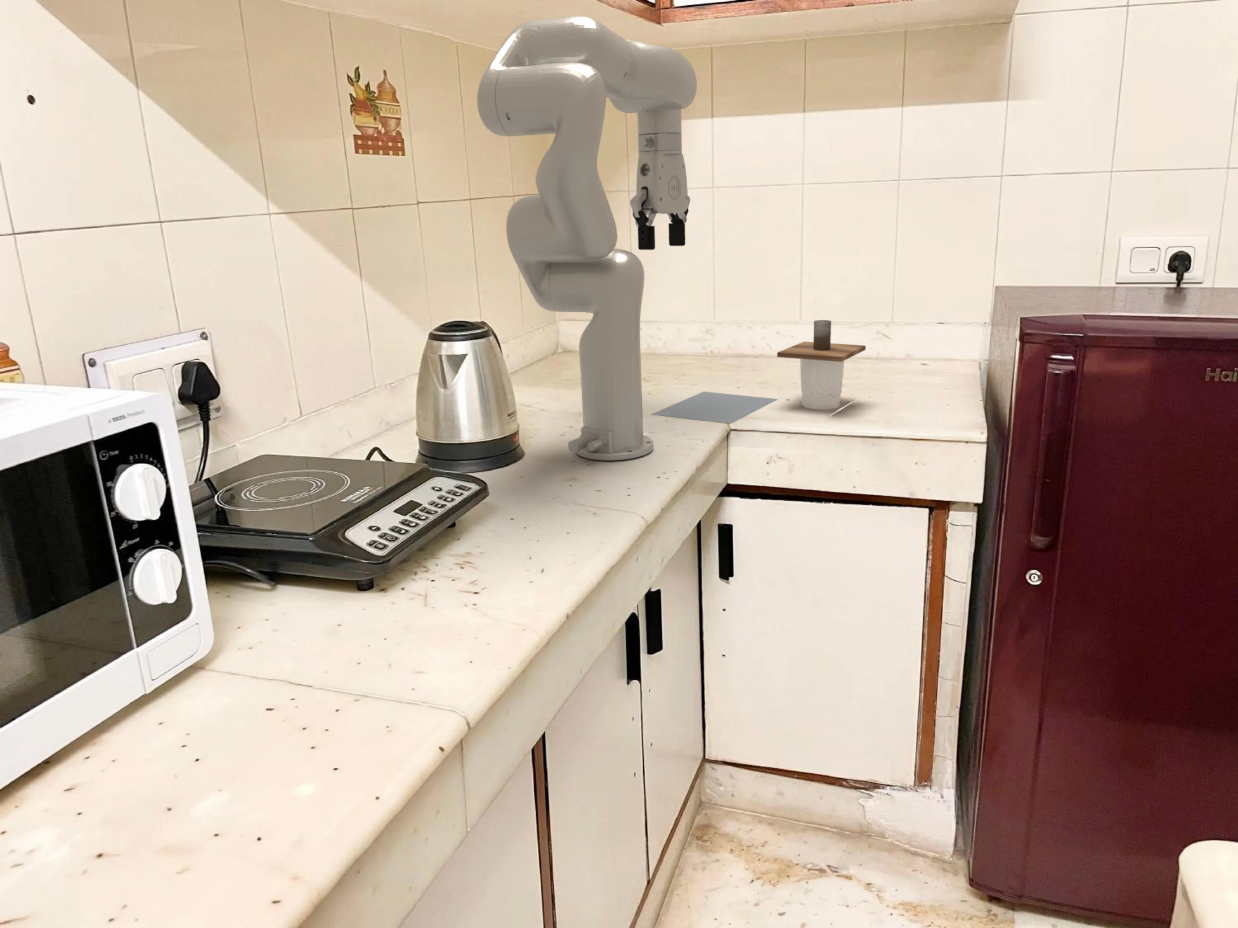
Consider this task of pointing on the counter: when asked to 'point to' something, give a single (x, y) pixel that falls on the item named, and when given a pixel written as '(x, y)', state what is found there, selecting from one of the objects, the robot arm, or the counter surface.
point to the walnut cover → (822, 346)
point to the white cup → (821, 383)
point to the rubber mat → (715, 407)
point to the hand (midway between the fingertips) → (662, 247)
